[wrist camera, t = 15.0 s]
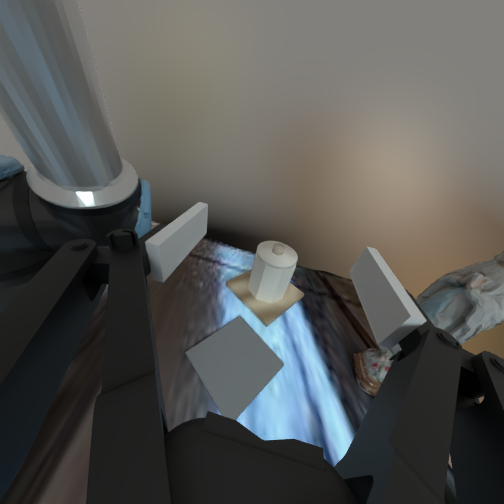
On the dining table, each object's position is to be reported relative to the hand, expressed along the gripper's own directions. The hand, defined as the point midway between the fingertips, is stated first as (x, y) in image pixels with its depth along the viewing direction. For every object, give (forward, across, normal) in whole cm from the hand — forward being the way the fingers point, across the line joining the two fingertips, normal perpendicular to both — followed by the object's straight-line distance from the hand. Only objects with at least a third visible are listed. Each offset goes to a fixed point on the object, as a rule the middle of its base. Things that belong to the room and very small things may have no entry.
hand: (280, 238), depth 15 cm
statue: (+6, +25, -26) cm, 36 cm away
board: (+19, +2, -26) cm, 32 cm away
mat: (+2, -1, -26) cm, 26 cm away
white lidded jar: (+19, +2, -25) cm, 31 cm away
